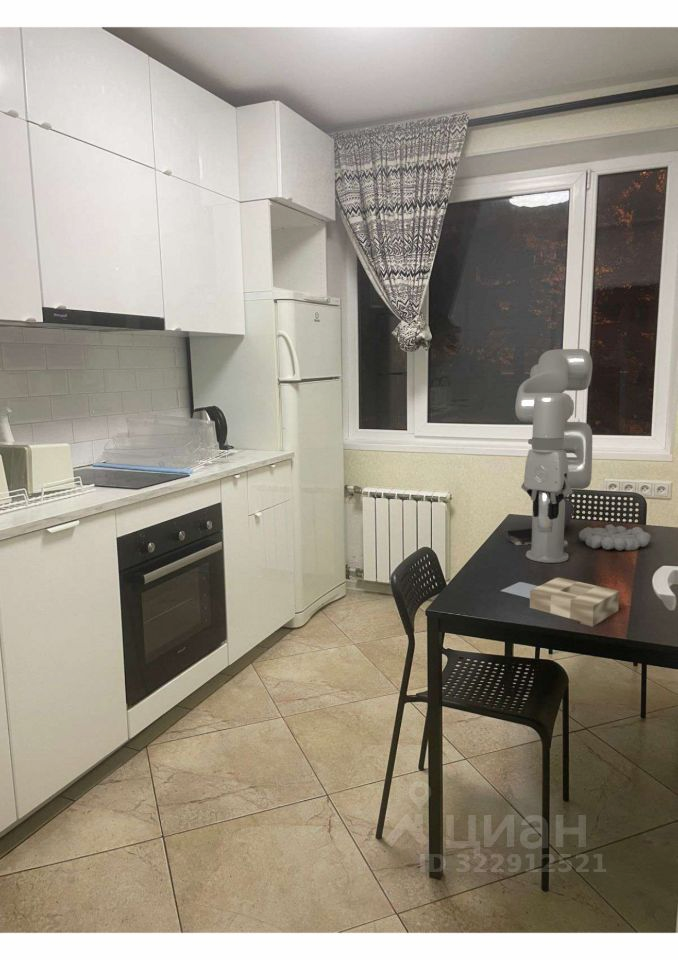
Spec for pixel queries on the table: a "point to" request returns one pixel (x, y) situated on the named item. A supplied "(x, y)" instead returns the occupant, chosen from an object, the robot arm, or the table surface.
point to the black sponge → (520, 536)
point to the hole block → (575, 600)
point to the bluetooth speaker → (568, 511)
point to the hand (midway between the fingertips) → (545, 516)
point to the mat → (520, 589)
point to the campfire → (615, 537)
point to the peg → (544, 512)
